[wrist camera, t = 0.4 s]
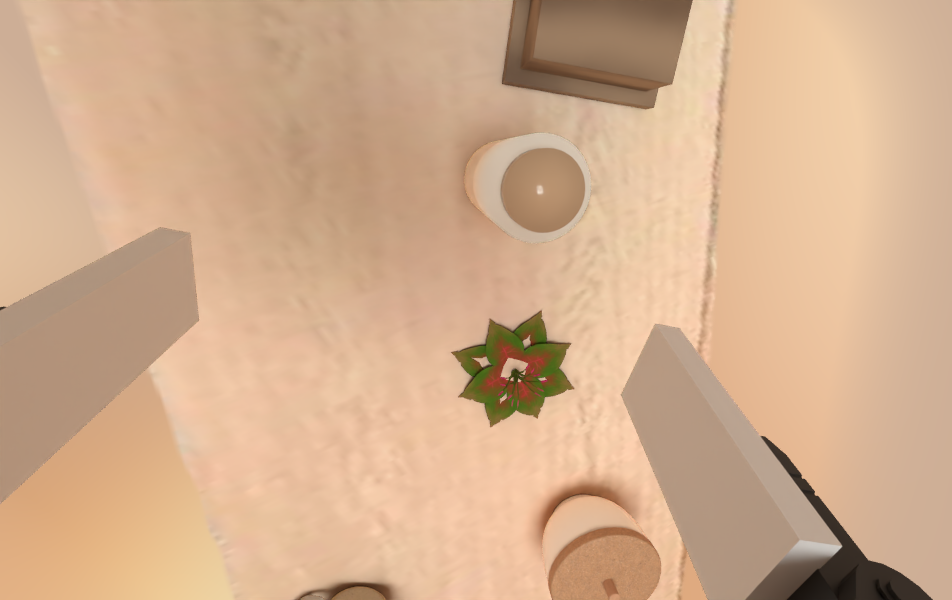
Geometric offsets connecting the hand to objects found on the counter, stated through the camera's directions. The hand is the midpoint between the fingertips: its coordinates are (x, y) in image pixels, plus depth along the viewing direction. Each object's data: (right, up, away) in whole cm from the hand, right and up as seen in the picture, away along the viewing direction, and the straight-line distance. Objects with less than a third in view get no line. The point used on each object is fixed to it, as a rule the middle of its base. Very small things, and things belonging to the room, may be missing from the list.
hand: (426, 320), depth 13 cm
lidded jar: (+13, -23, +36) cm, 44 cm away
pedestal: (+10, +22, +20) cm, 32 cm away
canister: (+3, +10, +23) cm, 26 cm away
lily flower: (+5, -6, +29) cm, 30 cm away
